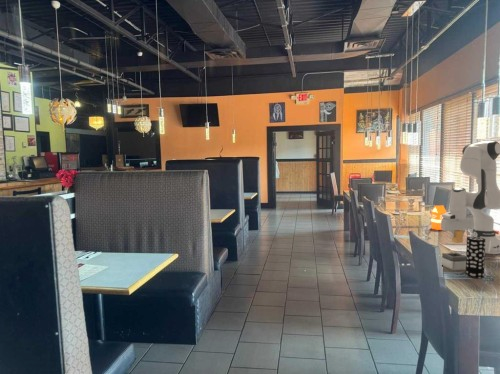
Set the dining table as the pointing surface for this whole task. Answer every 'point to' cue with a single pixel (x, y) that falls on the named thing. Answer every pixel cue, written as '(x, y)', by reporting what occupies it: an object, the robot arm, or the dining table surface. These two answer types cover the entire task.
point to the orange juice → (437, 217)
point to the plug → (458, 236)
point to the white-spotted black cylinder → (475, 257)
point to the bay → (455, 265)
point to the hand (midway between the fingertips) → (457, 237)
